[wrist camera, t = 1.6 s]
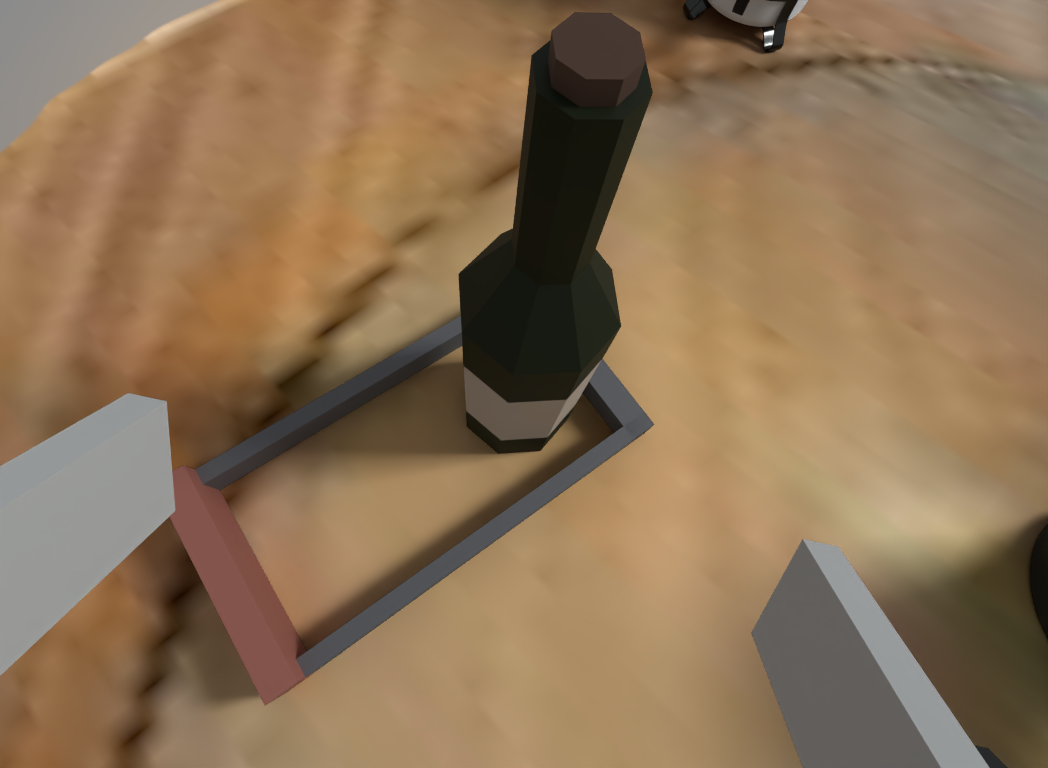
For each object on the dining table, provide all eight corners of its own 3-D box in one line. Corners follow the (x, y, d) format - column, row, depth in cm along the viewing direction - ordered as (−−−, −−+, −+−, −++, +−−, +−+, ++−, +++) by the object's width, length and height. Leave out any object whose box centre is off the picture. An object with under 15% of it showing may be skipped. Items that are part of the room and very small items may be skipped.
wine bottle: (491, 475, 40) (530, 227, 12) (443, 380, 42) (379, -23, 14) (587, 427, 42) (822, 113, 13) (537, 338, 44) (649, -90, 16)
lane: (531, 288, 45) (536, 262, 42) (644, 433, 42) (661, 419, 38) (184, 492, 37) (152, 482, 34) (288, 691, 34) (264, 705, 30)
